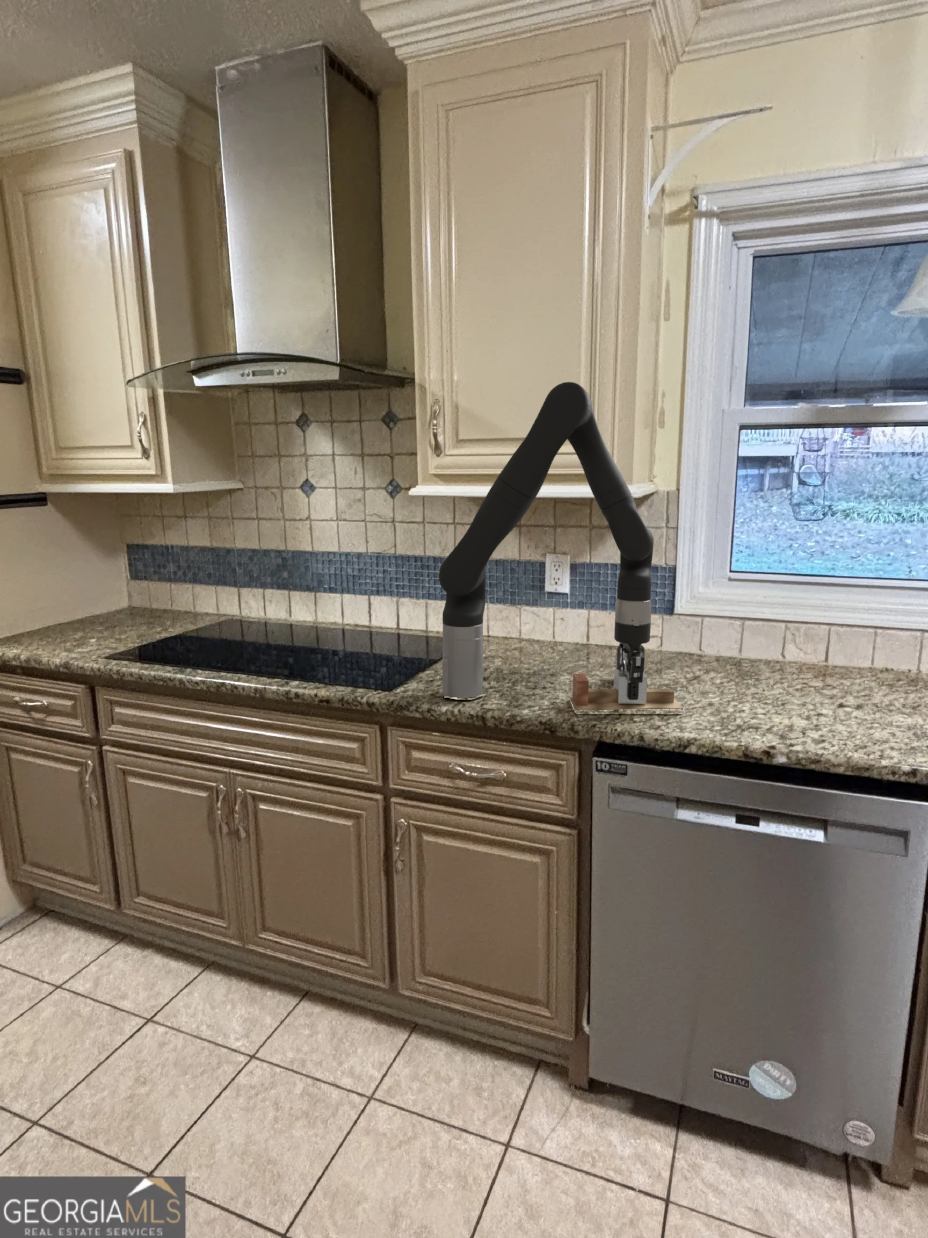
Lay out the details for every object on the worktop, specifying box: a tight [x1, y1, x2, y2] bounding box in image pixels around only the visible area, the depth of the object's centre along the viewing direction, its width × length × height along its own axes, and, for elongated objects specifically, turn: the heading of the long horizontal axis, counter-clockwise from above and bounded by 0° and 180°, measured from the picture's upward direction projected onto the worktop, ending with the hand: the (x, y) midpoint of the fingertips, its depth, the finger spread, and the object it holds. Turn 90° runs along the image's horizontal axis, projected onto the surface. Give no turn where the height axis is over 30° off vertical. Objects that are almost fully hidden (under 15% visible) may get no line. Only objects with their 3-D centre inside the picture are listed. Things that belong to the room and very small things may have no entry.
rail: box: [568, 673, 684, 711], centre depth 159 cm, size 23×9×7 cm, turn 90°
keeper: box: [612, 669, 648, 704], centre depth 159 cm, size 6×6×6 cm
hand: (629, 694), depth 159 cm, fingers closed on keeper, 5 cm apart
